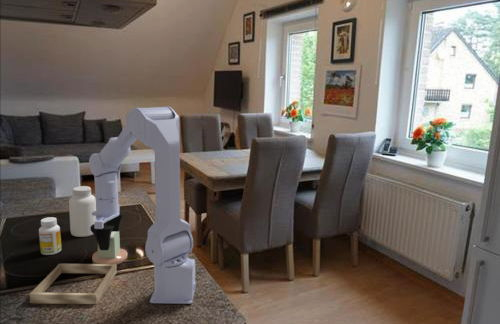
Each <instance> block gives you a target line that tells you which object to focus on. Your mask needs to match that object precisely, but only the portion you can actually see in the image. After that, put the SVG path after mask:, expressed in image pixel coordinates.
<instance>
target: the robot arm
mask: <svg viewBox="0 0 500 324" xmlns="http://www.w3.org/2000/svg"><path fill="white" fill-rule="evenodd" d="M119 133H120V134H119V135H118V136H116V137H115V136H114V137H110V138H109V139H108V142H107V143H106V144H105V146H104V147H103V148H102V150H101V151H100V152H98V153H92V154H91V155H90V156H89V160H88V166H89V170H90V172H91V174H92V175H93V177H94V195H95V196H94V197H95V198H96V211H94V212H92V215H93V216H96V220H95V222H94V224H93V225H92V226H91V227H90V230H91V231H92V233H93V236H94V237H95V239H96V242H97V246H98V245H99V248H100V250H108V249H109V246H110V236H111V232H112V231H119V232H120V227H121V223H122V220H123V218H124V216H125V213H124V212H123V211H120V209H121V208H120V204H119V188H118V180H119V179H120V172H121V170H122V163H123V161H124V160H126V158H127V157H128V156H129V155H130V154H131V151H132V150H131V146H133V144H134V143H135V142H136V141H137V140H138V141H139V142H140V143H142V144H143V145H144V146H145V147H148V148H151V149H152V151H153V152H154V179H155V221H154V222H153V223H152V225H150V227H149V228H148V230H147V239H146V241H145V247H144V248H145V249H144V251H145V254H146V257H147V259H148V260H149V261H150V262H151V263H152V264H153V268H154V269H153V271H154V273H153V274H154V275H153V277H154V279H153V281H154V290H153V291H152V295H151V297H150V300H149V303H150V304H176V305H177V304H180V305H181V304H184V305H185V304H188V305H189V304H192V303H193V301H194V300H193V299H194V296H195V291H196V287H197V282H196V259H193V258H189V254H190V252H192V250H193V248H194V238H193V234H192V230H191V224H189V223H188V222H187V221H186V220H184V219H182V218H181V214H182V213H181V157H180V156H181V155H180V154H181V151H180V150H181V149H180V146H181V145H180V116H179V115H178V113H176V111H175V110H174V108H172V107H171V106H168V105H165V106H157V107H132V108H131V109H130V110H129V111H128V113H127V114H126V116H125V126H124V127H123V129H122V130H121V132H119Z"/></svg>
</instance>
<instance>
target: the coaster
mask: <svg viewBox="0 0 500 324" xmlns="http://www.w3.org/2000/svg"><path fill="white" fill-rule="evenodd" d="M127 254H128V253H127V251H126V250H125V249H124V248H121V247H120V252H119V254H118V255H117V256H116V258H98V250H97V251H95V252H94V253H93V254H92V257H91V259H92V264H116V265H119V264H122V263H123V262H124V261H126V260H127V257H128V256H127Z"/></svg>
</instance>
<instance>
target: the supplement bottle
mask: <svg viewBox="0 0 500 324" xmlns="http://www.w3.org/2000/svg"><path fill="white" fill-rule="evenodd" d="M57 221H58V220H57V217H53V216H51V217H50V216H48V217H44V218H42V219H41V220H40V225H41V226H40V227H39V229H38V237H39V248H40V254H41V255H44V256H49V255H50V256H51V255H56V254H58V253H59V252H61V251H62V237H61V236H62V235H61V227H60V226H59V225H58V222H57Z"/></svg>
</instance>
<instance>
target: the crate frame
mask: <svg viewBox="0 0 500 324" xmlns="http://www.w3.org/2000/svg"><path fill="white" fill-rule="evenodd" d="M117 265H118V264H117ZM117 265H116V264H94V263H58V264H57V265H56V267H54V269H52V270H51V271H50V272H49V274H47V276H46V277H45V278H44V279H43V280H42V281H40V282H39V284H38V285H37V286H36V287H35V288H34V289H33V290H32V291H30V293H29V304H54V305H55V304H59V305H61V304H62V305H66V304H68V305H97V304H98V303H99V301H100V300H101V298H102V296H103V295H104V293H105V291H106V290H107V289H108V287H109V286H110V284H111V282H112V281H113V279H114V277H115V276H116V274H117V272H118V271H117V267H118V266H117ZM62 274H101V275H102V274H104V275H105V276H104V277H103V279H102V280H101V282H100V284H99V285H98V287H97V288H96V289H95V291H94V292H46V291H47V289H49V288H50V286H51V285H52V284H53V283H54V282H55V281H56V280H57V279H58V277H60V275H62Z"/></svg>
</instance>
